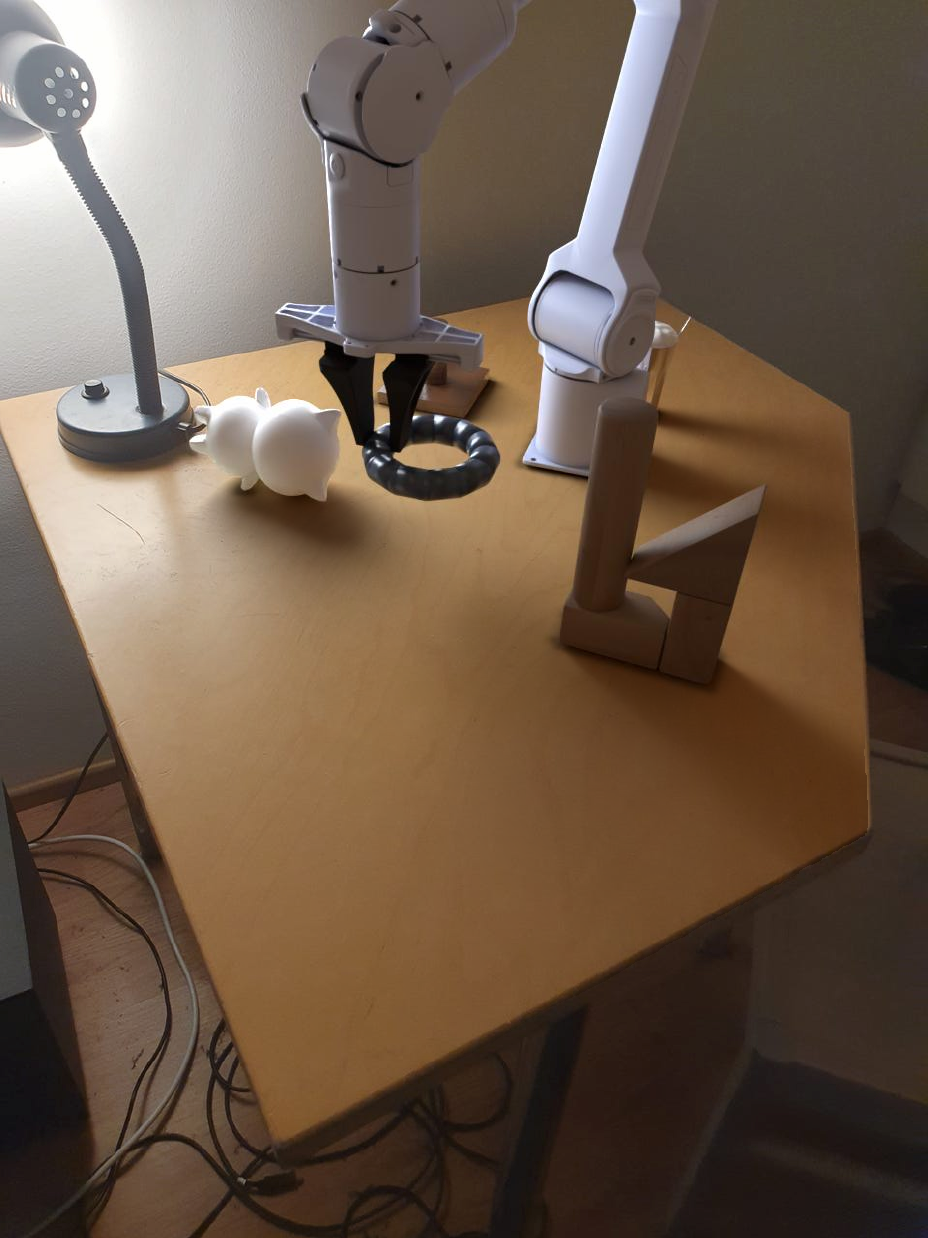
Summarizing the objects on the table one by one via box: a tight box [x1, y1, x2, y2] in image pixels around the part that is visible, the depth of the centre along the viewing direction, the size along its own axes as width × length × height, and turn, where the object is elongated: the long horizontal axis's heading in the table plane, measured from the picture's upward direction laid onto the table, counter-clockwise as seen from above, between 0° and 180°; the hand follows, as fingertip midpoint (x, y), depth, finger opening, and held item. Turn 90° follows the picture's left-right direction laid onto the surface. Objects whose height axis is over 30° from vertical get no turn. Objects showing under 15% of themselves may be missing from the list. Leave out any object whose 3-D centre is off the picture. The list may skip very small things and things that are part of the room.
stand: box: [376, 317, 491, 419], centre depth 91 cm, size 9×9×7 cm
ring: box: [361, 413, 501, 502], centre depth 67 cm, size 10×10×2 cm
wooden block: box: [558, 397, 768, 685], centre depth 58 cm, size 4×11×18 cm, turn 68°
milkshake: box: [636, 315, 691, 410], centre depth 88 cm, size 4×5×10 cm
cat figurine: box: [188, 387, 342, 503], centre depth 78 cm, size 9×11×12 cm
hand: (382, 442), depth 68 cm, fingers closed on ring, 2 cm apart
